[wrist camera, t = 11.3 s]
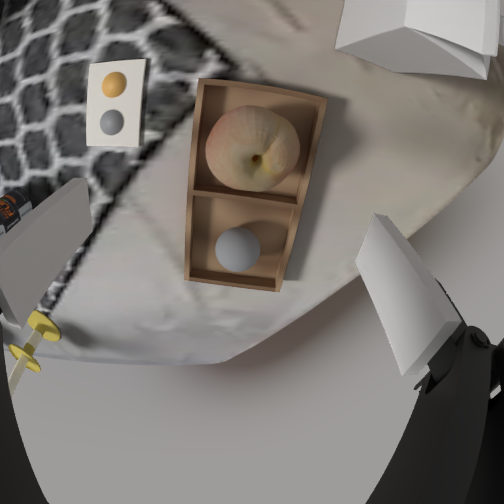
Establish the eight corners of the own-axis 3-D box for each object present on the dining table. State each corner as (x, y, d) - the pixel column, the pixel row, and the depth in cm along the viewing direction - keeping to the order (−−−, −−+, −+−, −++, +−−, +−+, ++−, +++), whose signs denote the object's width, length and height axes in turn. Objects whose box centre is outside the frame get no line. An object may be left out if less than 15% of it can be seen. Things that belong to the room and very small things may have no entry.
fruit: (259, 190, 30) (261, 224, 24) (199, 148, 28) (180, 170, 21) (307, 135, 27) (325, 153, 20) (245, 87, 24) (241, 87, 17)
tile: (91, 64, 22) (89, 64, 21) (146, 59, 22) (144, 58, 22) (88, 145, 27) (86, 146, 27) (139, 146, 28) (137, 147, 27)
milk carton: (333, 49, 22) (444, 16, 6) (345, -4, 18) (446, -72, 2) (393, 72, 23) (529, 90, 7) (404, 22, 19) (532, 3, 3)
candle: (27, 301, 43) (-31, 404, 20) (63, 328, 46) (14, 438, 24) (24, 322, 47) (-23, 414, 24) (57, 346, 50) (17, 442, 28)
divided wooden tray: (203, 78, 24) (198, 78, 22) (322, 97, 25) (328, 98, 23) (187, 268, 37) (184, 279, 35) (278, 280, 38) (279, 292, 36)
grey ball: (219, 216, 32) (214, 239, 28) (263, 222, 32) (264, 245, 28) (216, 252, 35) (211, 277, 31) (256, 257, 35) (256, 283, 31)
